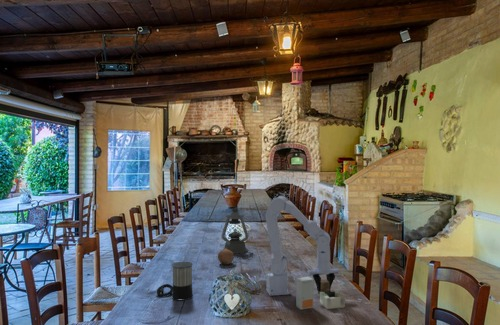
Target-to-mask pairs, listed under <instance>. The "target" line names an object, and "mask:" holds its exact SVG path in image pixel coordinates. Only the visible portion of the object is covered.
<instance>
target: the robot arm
mask: <svg viewBox="0 0 500 325" xmlns="http://www.w3.org/2000/svg"><path fill="white" fill-rule="evenodd" d="M282 211H283V213H284V214H290V215H291V216H293V217H294V219H296V220H297V221H298V222H299V223H300V224H301V225H302V226H303V231H304V232H306V233H307V235H309V236H310V238H312V239H313V240H315V243H316V245H317V249H316V250H317V251H316V264H317V266H316V268H314V269H309V270H306V271H307V272H306V273H307V277H311V276H312V277H313V278H312V279H314V283H315V286H316V289H317V292H318V291H319V292H320V283H321V280H322V277H321V275H326V276H325V277H326V280H327V281H329V282H330V290H331V288H332V285H333V282H334V280H335V278H336V275H340V274H341V273H340V272H341V269H339V268H331V246H330V245H331V244H330V243H331V236H330V235H329V234H330V233H328V232H326V230H325V229H322V228H321V227H320V226H319V225H318V222H317V221H314V220H309V219H308V218H307V216H306V215H304V213H302V211H301V210H299V209H298V207H296V205H295V204H294V203H293V202H292V201H291V200H289V199H288V198H287V197H286V196H284V195H279V196H278V197H275V198H273V199H272V200H271V202H269V204H268V207H267V209H266V212H265V221H266V228H267V233H268V239H269V244H270V250H271V257H270V259H271V260H270V262H271V264H270V271H271V272H270V273H267V274H266V278H265V281H266V286H265V287H266V292H267V293H268V295H269V296H271V297H272V296H282V295H284V296H285V295H290V294H291V293H290V291H289V290H288V271H287V269H286V268H287V267H288V265H289V262H288V259H287V258H286V255H285V252H284V251H283V246H282V242H281V236H280V230H279V224H278V217H279V215H280V213H281V212H282Z"/></svg>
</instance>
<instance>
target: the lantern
mask: <svg viewBox="0 0 500 325" xmlns="http://www.w3.org/2000/svg"><path fill="white" fill-rule="evenodd" d="M225 217H226V219H224V221H223V222H222V223H221V229H222V232H221V233H222V234H221V238H222V240H223V241H225V243H224V247H223V249H225V248H227V249H228V250H230V251H232V252H233V253H234V255H238V254H237V253H240V254H245V253H247V252H248V251H249V248H247V246H246V243H245V242H246V241H247V240H248V239H249V233H248V229H247V227H248V226H247V225H248V223H247V221H246V219H245V218H244V214H240V213H239V208H237V207H233V208H231V212H230V214H225ZM230 219H231V220H230ZM224 222H225V223H224ZM223 224H224V225H223ZM229 224H231V225H239V224H241V225H239V226H238V228H239V227H240V229H243V230H242V231H237V230H235V228H232V230H230V231H227V229H230V228H231V226H230V225H229ZM223 226H224V227H223ZM232 231H233V232H232ZM226 233H228V237H226V235H227V234H226ZM243 234H244V235H245V237H243V238H241V237H242V236H243ZM244 252H245V253H244Z"/></svg>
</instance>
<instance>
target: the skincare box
mask: <svg viewBox="0 0 500 325" xmlns="http://www.w3.org/2000/svg"><path fill="white" fill-rule="evenodd" d="M295 279H296V290H295V291H296V295H295V298H296V300H295V301H296V303H295V304H296V305H295V306H296V307H297V309H299V310H307V309H313V308H314V283H315V280H314V278H312V277H311V276H302V277H297V278H295Z"/></svg>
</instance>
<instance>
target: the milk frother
mask: <svg viewBox="0 0 500 325" xmlns="http://www.w3.org/2000/svg"><path fill="white" fill-rule="evenodd" d="M171 266H172V285H171V284H169V283H165V284H164V283H163V284H162V285H161V286H159V287H158V288H157V289H156V294H157V295H158V296H161V297H167V295H168V296H170V295H171V294H172V295H171V298H172V297H173V298H174V299H173V298H172V299H173V300H175V299H188V298H190V299H192V298H193V297H192V296H194V294H193V263H192V262H190V261H177V262H174V263H173V264H171ZM165 288H168V289H170V290H169V291H168V292H166V293H164V292H165V291H164V290H165ZM191 297H192V298H191ZM188 300H189V299H188Z"/></svg>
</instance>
